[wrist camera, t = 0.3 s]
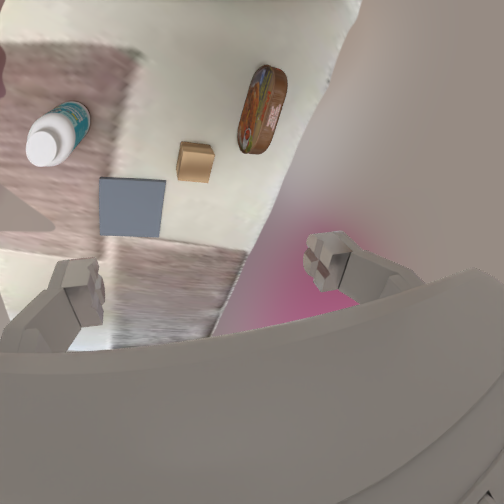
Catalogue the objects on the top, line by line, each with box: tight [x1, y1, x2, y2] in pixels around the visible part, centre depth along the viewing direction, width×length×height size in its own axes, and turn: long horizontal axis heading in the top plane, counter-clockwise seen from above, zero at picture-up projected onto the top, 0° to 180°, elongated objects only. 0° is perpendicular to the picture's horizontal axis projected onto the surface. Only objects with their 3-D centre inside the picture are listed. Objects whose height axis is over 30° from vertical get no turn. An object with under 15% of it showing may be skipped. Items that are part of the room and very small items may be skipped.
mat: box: [99, 177, 166, 237], centre depth 47 cm, size 12×12×1 cm
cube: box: [176, 142, 215, 183], centre depth 44 cm, size 5×5×5 cm
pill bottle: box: [26, 101, 90, 167], centre depth 29 cm, size 8×7×14 cm
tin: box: [238, 65, 288, 154], centre depth 39 cm, size 15×3×8 cm, turn 164°
